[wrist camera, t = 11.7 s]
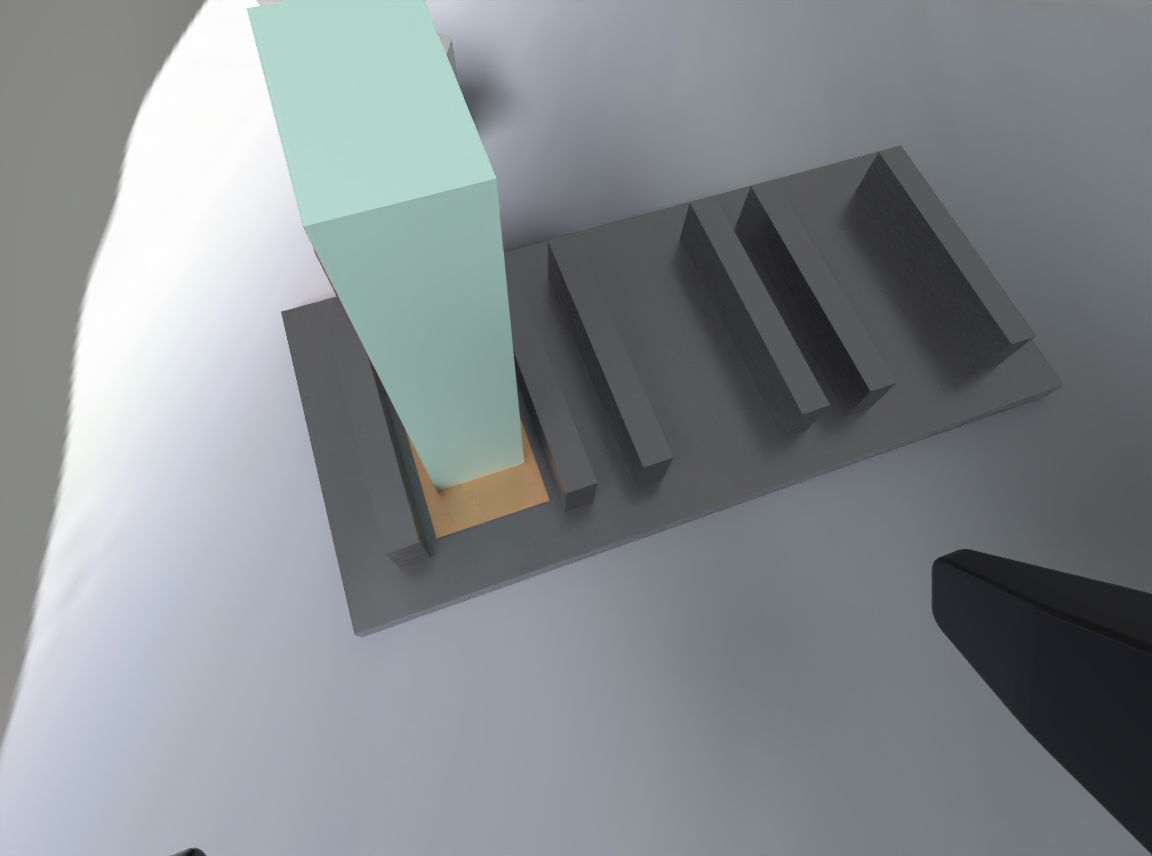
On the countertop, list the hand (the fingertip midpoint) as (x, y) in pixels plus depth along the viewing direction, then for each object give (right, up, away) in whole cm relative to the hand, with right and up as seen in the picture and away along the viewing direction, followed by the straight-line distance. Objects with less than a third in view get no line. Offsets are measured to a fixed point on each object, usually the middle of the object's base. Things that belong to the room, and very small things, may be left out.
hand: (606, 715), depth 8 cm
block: (-4, +4, +15) cm, 16 cm away
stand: (+3, +6, +17) cm, 19 cm away
